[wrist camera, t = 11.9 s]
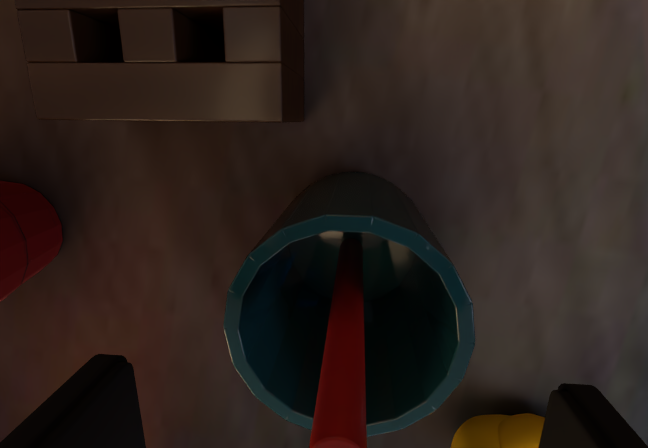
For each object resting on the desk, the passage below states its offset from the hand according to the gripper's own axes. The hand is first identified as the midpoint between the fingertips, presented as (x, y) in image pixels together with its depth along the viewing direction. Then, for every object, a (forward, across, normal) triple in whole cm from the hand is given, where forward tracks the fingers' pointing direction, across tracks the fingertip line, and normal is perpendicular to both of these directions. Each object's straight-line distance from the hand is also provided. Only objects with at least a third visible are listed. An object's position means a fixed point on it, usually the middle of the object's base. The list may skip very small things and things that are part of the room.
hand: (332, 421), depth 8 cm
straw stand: (+14, +8, -11) cm, 20 cm away
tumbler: (+14, 0, +1) cm, 14 cm away
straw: (+14, 0, +1) cm, 14 cm away
